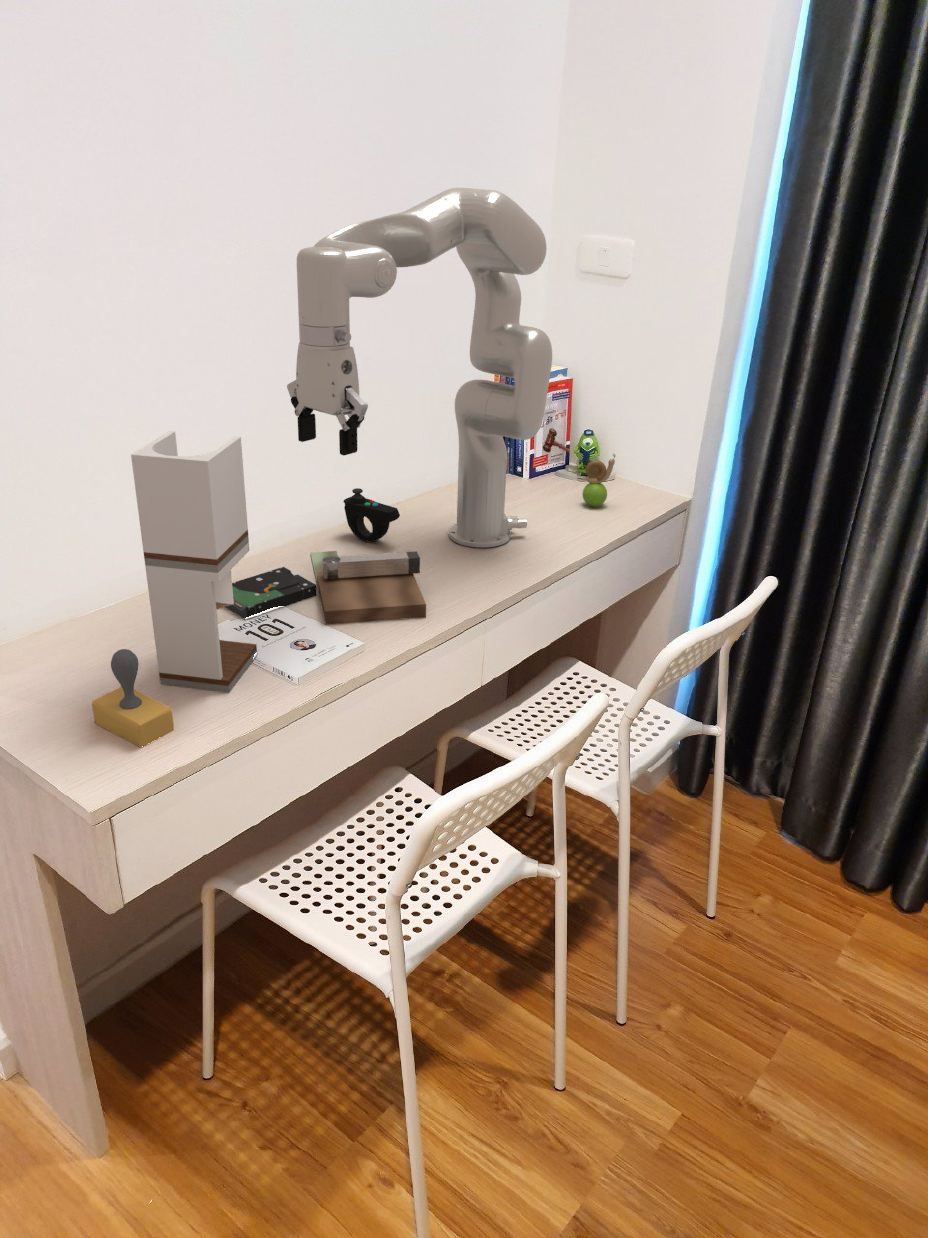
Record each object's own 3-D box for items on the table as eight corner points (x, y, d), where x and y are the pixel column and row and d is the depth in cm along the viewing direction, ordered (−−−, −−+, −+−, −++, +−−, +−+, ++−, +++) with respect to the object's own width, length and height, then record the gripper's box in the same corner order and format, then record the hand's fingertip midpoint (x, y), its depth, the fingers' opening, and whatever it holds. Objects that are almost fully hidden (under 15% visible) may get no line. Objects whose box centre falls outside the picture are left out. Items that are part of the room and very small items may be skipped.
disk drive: (283, 580, 179) (212, 602, 169) (283, 565, 178) (211, 587, 168) (318, 598, 172) (246, 622, 163) (317, 584, 171) (245, 607, 162)
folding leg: (323, 579, 171) (323, 563, 169) (322, 572, 173) (321, 556, 172) (419, 573, 174) (420, 558, 173) (416, 566, 177) (416, 551, 176)
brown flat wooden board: (397, 549, 192) (397, 537, 190) (425, 617, 166) (426, 604, 164) (310, 554, 188) (310, 542, 187) (325, 624, 162) (324, 611, 161)
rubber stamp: (93, 724, 134) (80, 647, 128) (128, 706, 138) (117, 631, 133) (141, 749, 129) (129, 670, 124) (175, 729, 133) (166, 653, 128)
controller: (354, 530, 200) (353, 484, 195) (402, 545, 194) (402, 497, 189) (340, 536, 196) (339, 489, 192) (389, 551, 190) (389, 503, 186)
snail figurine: (611, 510, 215) (617, 457, 209) (582, 509, 215) (587, 456, 209) (608, 501, 219) (614, 450, 214) (580, 501, 219) (585, 449, 214)
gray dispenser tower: (229, 692, 142) (207, 461, 126) (160, 684, 143) (130, 454, 128) (257, 655, 152) (240, 436, 136) (193, 648, 154) (169, 430, 138)
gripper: (383, 341, 144) (383, 454, 151) (306, 324, 154) (309, 431, 161) (345, 347, 138) (347, 464, 146) (268, 329, 148) (273, 439, 156)
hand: (327, 446), depth 154 cm, fingers open, 9 cm apart
